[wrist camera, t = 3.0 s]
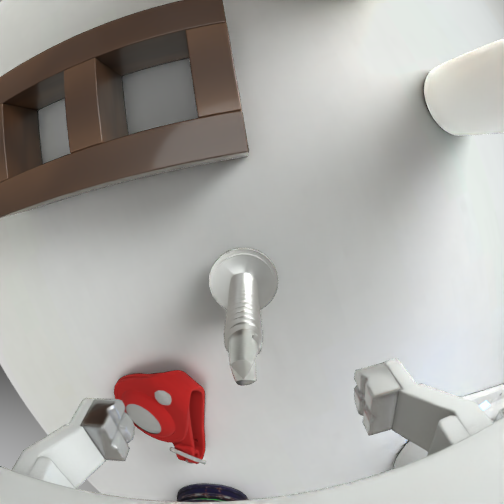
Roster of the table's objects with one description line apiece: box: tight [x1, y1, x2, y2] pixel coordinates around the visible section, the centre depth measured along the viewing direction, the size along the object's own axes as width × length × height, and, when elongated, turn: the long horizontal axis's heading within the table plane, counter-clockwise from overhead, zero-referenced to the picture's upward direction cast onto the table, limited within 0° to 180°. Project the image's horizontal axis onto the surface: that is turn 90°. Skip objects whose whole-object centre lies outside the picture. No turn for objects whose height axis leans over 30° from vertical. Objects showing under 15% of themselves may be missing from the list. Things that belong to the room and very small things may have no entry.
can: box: [424, 38, 504, 136], centre depth 15 cm, size 6×6×12 cm
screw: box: [209, 248, 278, 385], centre depth 18 cm, size 13×5×5 cm
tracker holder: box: [114, 370, 206, 464], centre depth 26 cm, size 12×4×10 cm
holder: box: [0, 0, 249, 218], centre depth 18 cm, size 11×20×5 cm, turn 99°
